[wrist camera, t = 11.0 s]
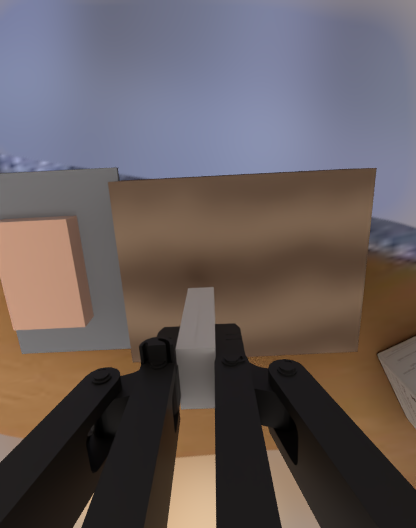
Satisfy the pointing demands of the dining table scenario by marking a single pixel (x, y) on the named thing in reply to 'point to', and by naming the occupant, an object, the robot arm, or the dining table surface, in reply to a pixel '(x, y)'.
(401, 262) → the dining table surface
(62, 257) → the tile
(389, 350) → the supplement box
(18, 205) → the mat
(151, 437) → the robot arm
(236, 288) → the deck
